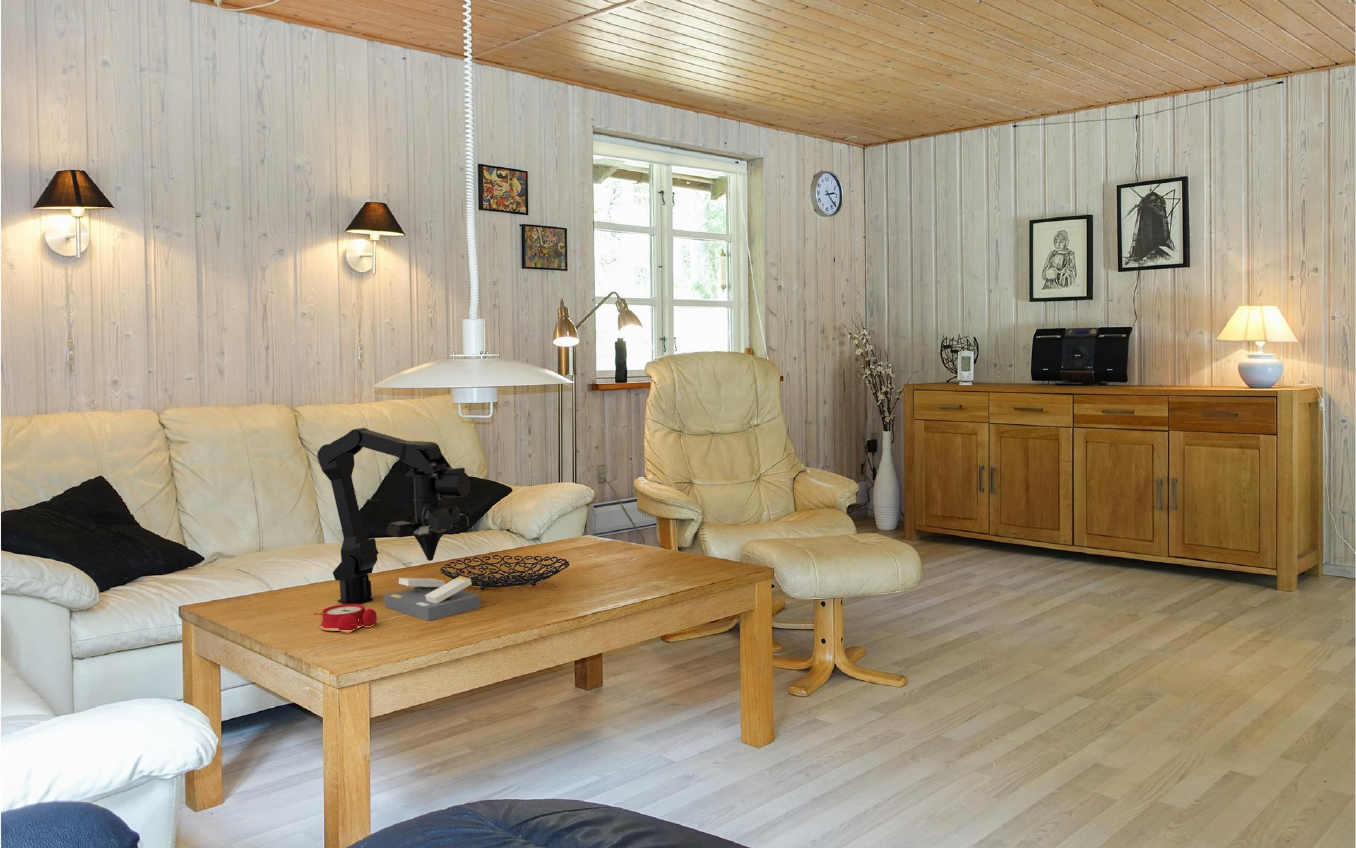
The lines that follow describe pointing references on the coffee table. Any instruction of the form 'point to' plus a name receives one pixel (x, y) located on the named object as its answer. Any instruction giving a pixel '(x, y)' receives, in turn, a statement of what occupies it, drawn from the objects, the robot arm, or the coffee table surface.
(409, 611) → the switch box
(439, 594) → the bar
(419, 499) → the robot arm
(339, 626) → the alarm clock
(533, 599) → the coffee table surface
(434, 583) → the bar
